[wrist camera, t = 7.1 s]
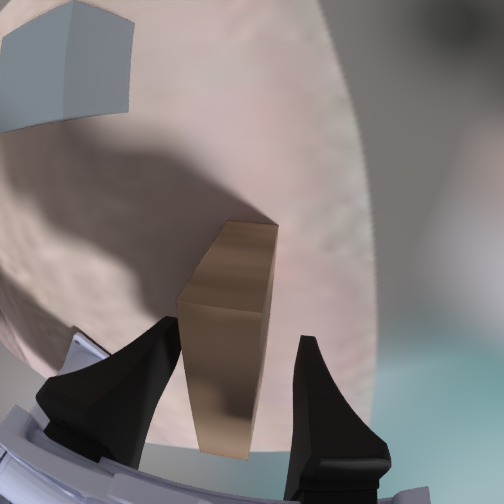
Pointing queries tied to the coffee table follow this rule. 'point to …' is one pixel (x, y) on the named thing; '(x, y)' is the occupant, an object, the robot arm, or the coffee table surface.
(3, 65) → the letter block
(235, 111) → the coffee table surface
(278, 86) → the coffee table surface
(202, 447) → the walnut board
